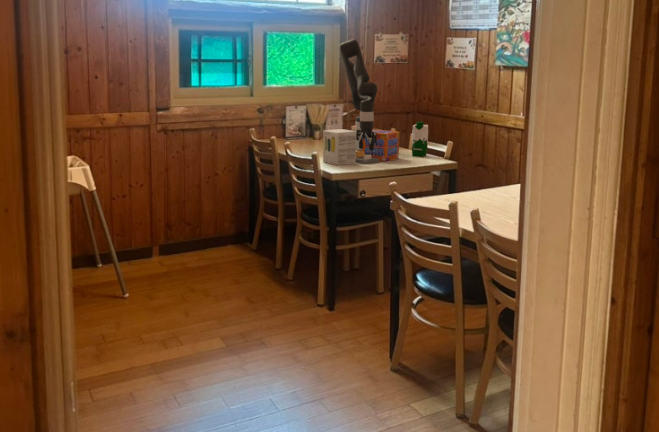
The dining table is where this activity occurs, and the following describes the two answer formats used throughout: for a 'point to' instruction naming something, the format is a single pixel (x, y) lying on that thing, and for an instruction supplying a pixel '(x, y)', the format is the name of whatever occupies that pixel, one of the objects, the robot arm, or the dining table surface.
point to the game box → (383, 146)
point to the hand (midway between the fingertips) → (366, 149)
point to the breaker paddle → (360, 154)
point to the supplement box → (339, 146)
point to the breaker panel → (366, 159)
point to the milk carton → (419, 140)
